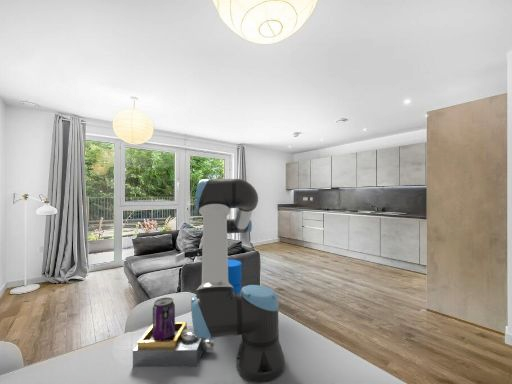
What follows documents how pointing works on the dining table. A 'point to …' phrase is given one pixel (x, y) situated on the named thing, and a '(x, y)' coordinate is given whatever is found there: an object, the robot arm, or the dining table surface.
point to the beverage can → (163, 319)
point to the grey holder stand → (171, 348)
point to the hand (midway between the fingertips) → (191, 259)
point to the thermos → (234, 275)
